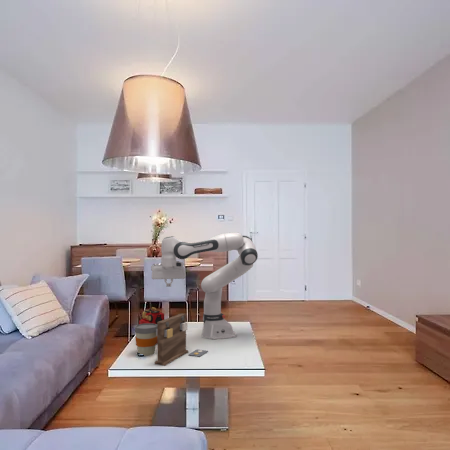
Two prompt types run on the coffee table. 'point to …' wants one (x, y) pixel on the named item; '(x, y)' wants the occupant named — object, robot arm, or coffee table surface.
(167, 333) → the yellow and grey block
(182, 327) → the off-white rectangular block
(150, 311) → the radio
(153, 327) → the reusable coffee cup
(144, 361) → the coffee table surface
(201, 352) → the card
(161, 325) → the panel
